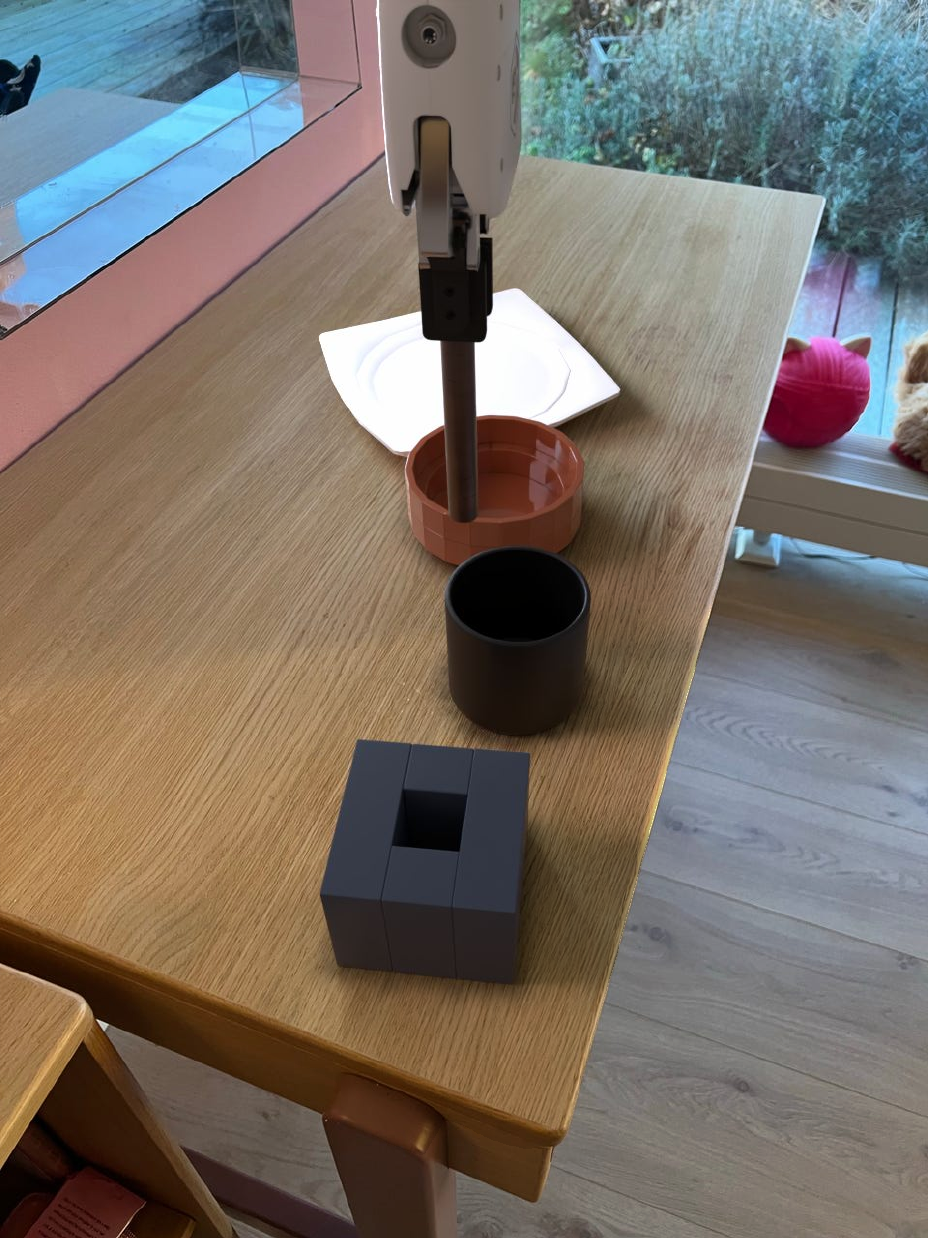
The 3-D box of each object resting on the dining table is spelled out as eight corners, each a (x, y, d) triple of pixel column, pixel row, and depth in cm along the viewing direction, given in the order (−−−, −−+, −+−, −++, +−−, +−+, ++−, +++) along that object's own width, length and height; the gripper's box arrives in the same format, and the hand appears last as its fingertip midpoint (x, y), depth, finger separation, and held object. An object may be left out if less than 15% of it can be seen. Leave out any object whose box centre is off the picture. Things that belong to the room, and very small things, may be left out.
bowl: (583, 471, 88) (586, 418, 84) (576, 581, 78) (580, 527, 74) (423, 463, 89) (419, 411, 86) (397, 570, 80) (391, 516, 76)
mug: (597, 623, 75) (606, 530, 68) (571, 749, 67) (578, 657, 60) (474, 604, 77) (472, 512, 70) (434, 724, 68) (427, 633, 62)
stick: (480, 505, 61) (474, 209, 48) (476, 524, 59) (469, 226, 47) (450, 503, 61) (436, 208, 48) (446, 522, 60) (431, 225, 47)
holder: (527, 830, 62) (530, 752, 57) (514, 985, 55) (515, 913, 50) (369, 816, 63) (356, 738, 58) (336, 966, 56) (318, 894, 51)
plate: (522, 303, 109) (522, 280, 107) (636, 418, 93) (639, 394, 91) (307, 354, 103) (303, 331, 101) (390, 488, 87) (388, 463, 85)
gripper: (521, -68, 32) (516, 417, 45) (556, -152, 43) (543, 258, 56) (295, -67, 33) (354, 408, 46) (385, -150, 44) (412, 253, 57)
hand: (458, 323), depth 51 cm, fingers closed on stick, 1 cm apart
